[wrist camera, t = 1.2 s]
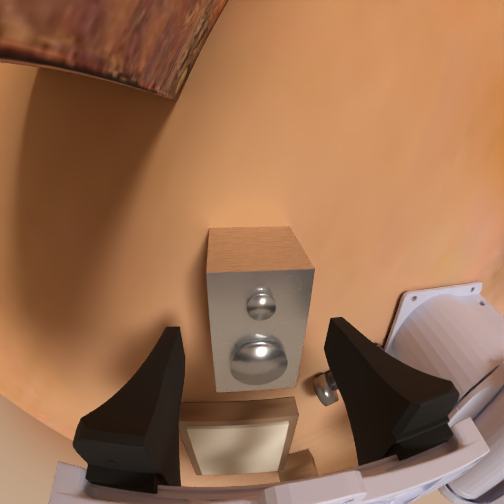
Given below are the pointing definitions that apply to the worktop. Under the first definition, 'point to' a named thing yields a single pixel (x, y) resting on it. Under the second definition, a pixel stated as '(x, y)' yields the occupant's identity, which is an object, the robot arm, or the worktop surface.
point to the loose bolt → (327, 387)
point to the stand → (238, 435)
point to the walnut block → (298, 466)
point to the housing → (257, 306)
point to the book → (110, 38)
